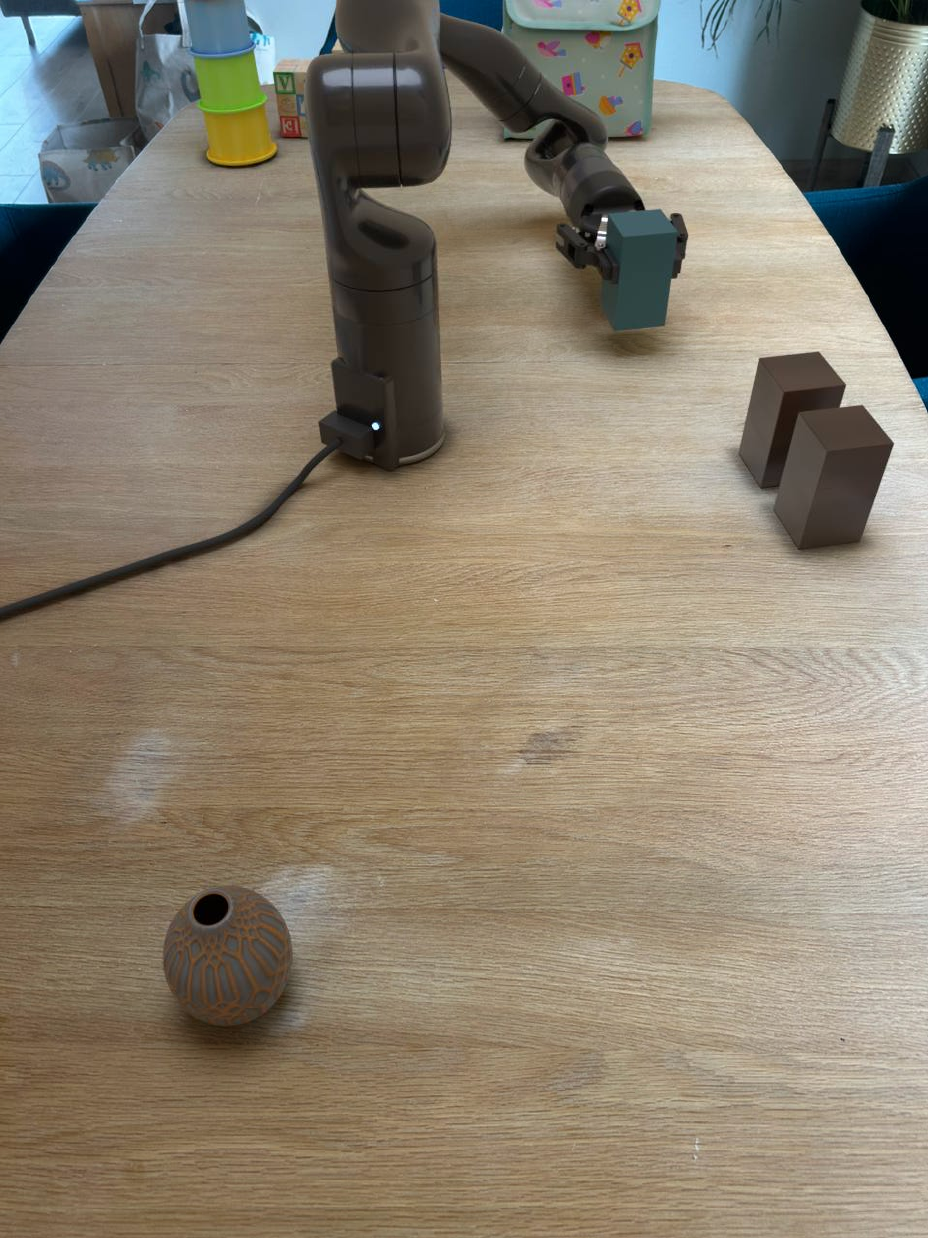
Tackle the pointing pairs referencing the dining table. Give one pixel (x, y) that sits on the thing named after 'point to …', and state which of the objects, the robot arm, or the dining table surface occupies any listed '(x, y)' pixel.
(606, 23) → the lunch bag
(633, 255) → the teal block
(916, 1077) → the dining table surface
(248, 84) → the stacking cups
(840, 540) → the walnut block front
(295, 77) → the stack of blocks
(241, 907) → the vase
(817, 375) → the walnut block middle
